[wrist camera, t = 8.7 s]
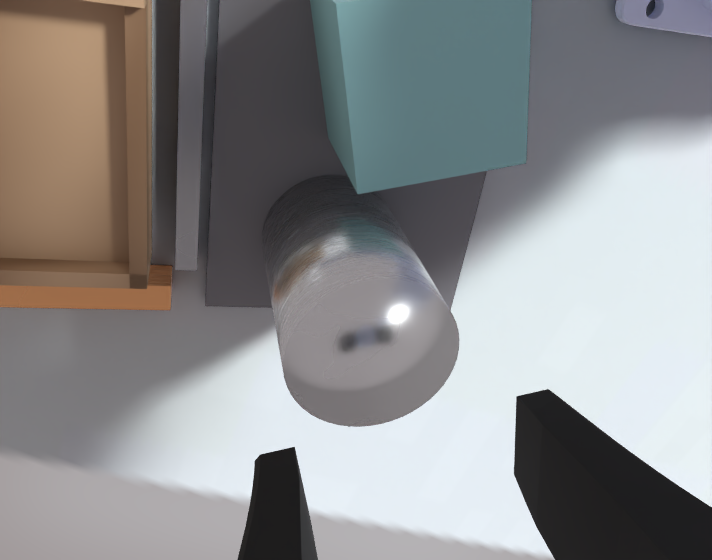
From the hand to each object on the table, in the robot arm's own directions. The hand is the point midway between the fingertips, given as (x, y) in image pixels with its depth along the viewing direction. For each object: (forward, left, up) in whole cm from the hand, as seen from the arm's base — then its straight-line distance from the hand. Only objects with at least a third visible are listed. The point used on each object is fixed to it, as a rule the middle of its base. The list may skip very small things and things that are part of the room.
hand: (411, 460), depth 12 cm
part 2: (0, 0, -9) cm, 9 cm away
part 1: (-1, -6, -9) cm, 11 cm away
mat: (0, -3, -9) cm, 10 cm away
